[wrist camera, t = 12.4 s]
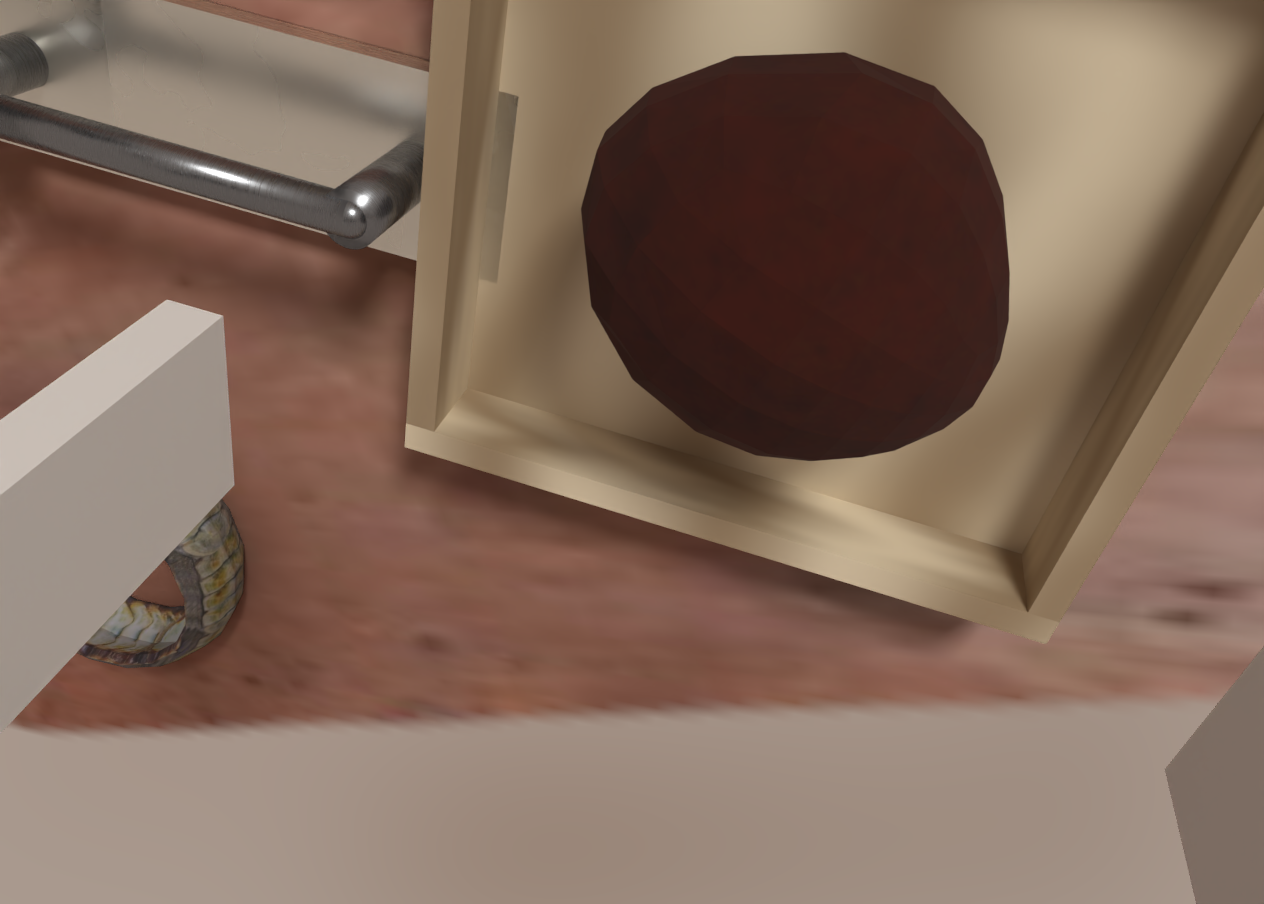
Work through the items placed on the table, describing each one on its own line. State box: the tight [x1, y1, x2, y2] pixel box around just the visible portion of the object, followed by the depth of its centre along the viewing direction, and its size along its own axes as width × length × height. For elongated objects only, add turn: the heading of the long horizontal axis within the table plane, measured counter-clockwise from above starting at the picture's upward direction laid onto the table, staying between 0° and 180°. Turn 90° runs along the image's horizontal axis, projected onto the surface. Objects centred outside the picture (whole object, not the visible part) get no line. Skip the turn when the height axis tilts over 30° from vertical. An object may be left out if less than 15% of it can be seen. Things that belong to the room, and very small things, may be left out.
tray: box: [405, 0, 1264, 644], centre depth 23 cm, size 18×18×3 cm
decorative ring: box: [77, 499, 244, 668], centre depth 36 cm, size 10×3×10 cm
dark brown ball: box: [581, 52, 1010, 461], centre depth 21 cm, size 8×9×8 cm
